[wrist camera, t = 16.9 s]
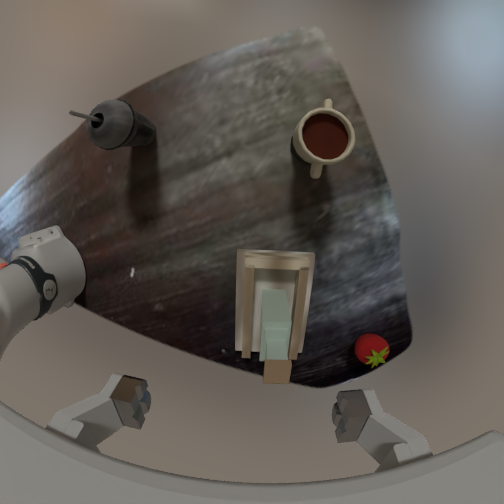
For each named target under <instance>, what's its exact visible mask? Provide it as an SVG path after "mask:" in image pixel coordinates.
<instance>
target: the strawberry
mask: <svg viewBox="0 0 504 504" xmlns="http://www.w3.org/2000/svg"><path fill="white" fill-rule="evenodd" d="M388 354H389V346H388V344H387V342H386V341H385V340H384V339H383V338H381V337H380V336H378V335H376V334H363V335H361V336H360V337H359V338H358V340H357V341H356V343H355V355H356V357H357V358H358V359H359V360H360V361H361V362H363V363H365V364H373V365H372V367H373V366H374V365H375V364H376V366H377V365H378V363H380V362H382V363H385V361H384V360H385V358H386V357H387V356H388Z"/></svg>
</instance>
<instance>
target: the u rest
mask: <svg viewBox="0 0 504 504" xmlns="http://www.w3.org/2000/svg"><path fill="white" fill-rule="evenodd" d="M314 261H315V254H314V253H313V252H292V251H271V250H250V249H238V250H237V273H236V328H235V350H236V351H242V358H250V353H251V351H254V352H260V318H261V303H262V289H275V290H286V295H287V300H288V305H289V311H290V316H291V321H292V324H291V332H290V339H289V347H288V359H292V360H297V354H298V353H302V348H303V342H304V336H305V329H306V323H307V316H308V309H309V302H310V294H311V287H312V279H313V270H314Z"/></svg>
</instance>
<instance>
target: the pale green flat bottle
mask: <svg viewBox="0 0 504 504" xmlns="http://www.w3.org/2000/svg"><path fill="white" fill-rule="evenodd" d="M291 324H292V321H291V316H290V311H289V305H288V300H287V295H286V290H275V289H262V303H261V318H260V361H265V362H264V373H263V383H272V384H289V379H290V373H291V367H292V363H291V360H288V355H287V354H288V347H289V339H290V332H291Z"/></svg>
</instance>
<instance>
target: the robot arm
mask: <svg viewBox="0 0 504 504" xmlns="http://www.w3.org/2000/svg"><path fill="white" fill-rule="evenodd" d="M52 232H53V233H52ZM85 278H86V276H85V268H84V264H83V261H82V258H81V256H80V254H79V252H78V250H77V249H76V248H75V246H74V245H73V244H72V243H71V242H70V241H69V240H68V239H67V238H66V237H65V236H64V234H63V232H62V230H61V229H60V227H59V226H57V225H55V226H52V227H49V228H46V229H43V230H39V231H36V232H33V233H30V234H28V235H25V236H23V237H21V238H20V242H19V248H18V249H15V250H14V251H13V253H12V261H11V262H10V263H9V264H8V265H7V263H2V264H0V359H1V357H2V355H3V353H4V351H5V349H6V348H7V346H8V344H9V343H10V341H11V340H12V339H13V338H14V336H15V335H16V334H18V333H19V332H20V331H21V330H22V329H23V328H24V327H25V326H26V325H28V324H29V323H30V322H31V321H33V320H37V319H39V318H41V317H42V316H44V315H45V314H46V313H48V314H52V313H54V312H55V311H57V310H59V309H60V308H62V307H63V306H65V307H67V308H69V307H71V306H72V305H73V303H74V299H75V298H76V297H77V296H78V295H79V294H80V293H81V292H82V290H83V288H84V286H85ZM147 387H148V385H147V381H146V380H144V379H140V378H136V377H131V376H127V375H123V374H119V373H113V374H112V376H111V377H110V379H109V380H108V382H107V383H106V385H105V386H104V388H103V389H102V391H101V392H100V394H99V395H97V394H96V395H93V396H91V397H89V398H87V399H85V400H82V401H80V402H78V403H76V404H74V405H71V406H69V407H67V408H64V409H62V410H60V411H57V413H56V414H55V415H54V417H53V418H52V420H51V421H50V422H49V424H48V425H47V427H46V428H43V427H41V426H40V425H38V424H36V423H34V422H33V421H31V420H29V419H27V418H26V417H24V416H22V415H21V414H19V413H18V412H16V411H14V410H13V409H11V408H10V407H8V406H7V405H5V404H4V403H2V402H1V401H0V504H504V434H502V433H501V432H498V431H495V430H492V431H489V432H486V433H484V434H482V435H480V436H478V437H477V438H474V439H472V440H470V441H468V442H466V443H464V444H461V445H459V446H457V447H454V448H452V449H449V450H447V451H444V452H442V453H439V454H437V455H434V456H433V454H432V452H431V450H430V447H429V446H428V443H427V441H426V439H425V437H424V436H423V435H421V434H420V433H418V432H416V431H415V430H413V429H411V428H410V427H408V426H407V425H405V424H404V423H402V422H400V421H399V420H397V419H396V418H394V417H393V416H391V415H390V414H388V413H384V412H383V410H382V407H381V406H380V403H379V401H378V398H377V396H376V394H375V392H374V390H373V389H372V388H368V389H361V390H360V389H359V390H350V391H339V392H338V394H337V397H336V398H337V402H336V403H335V404H334V406H333V409H332V420H333V424H334V425H335V426H337V428H336V430H335V433H336V437H337V441H338V443H341V442H351V441H356V442H357V443H358V444H359V445H360V446H361V447H362V448H363V449H364V450H365V451H366V452H367V453H368V454H370V455H371V456H372V457H373V458H374V459H375V460H376V461H377V462H378V463H379V464H380V466H379V467H378V468H377V470H376V471H375V472H374V473H369V474H364V475H359V476H353V477H347V478H340V479H333V480H326V481H315V482H300V483H242V482H229V481H217V480H209V479H202V478H195V477H188V476H183V475H178V474H173V473H167V472H163V471H159V470H154V469H150V468H146V467H143V466H139V465H135V464H132V463H129V462H125V461H122V460H119V459H116V458H113V457H110V456H107V455H104V454H102V453H101V452H100V451H99V449H98V448H97V446H96V445H97V444H99V443H100V442H102V441H103V440H105V439H106V438H108V437H109V436H111V435H112V434H113V433H115V432H116V431H118V430H119V429H120V428H122V427H123V425H124V426H128V427H132V428H136V429H141V427H142V425H143V423H144V421H145V417H144V414H146V413H147V412H148V411H149V409H150V405H151V396H150V393H149V392H148V391H147V390H146V389H147Z"/></svg>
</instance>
